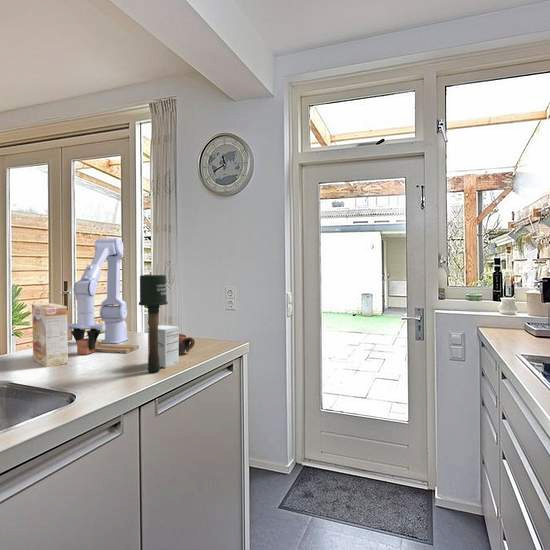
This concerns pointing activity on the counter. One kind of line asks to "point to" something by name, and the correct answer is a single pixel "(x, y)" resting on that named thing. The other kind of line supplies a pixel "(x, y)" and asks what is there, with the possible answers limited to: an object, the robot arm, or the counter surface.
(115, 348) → the board
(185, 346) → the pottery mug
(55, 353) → the coffeecake box
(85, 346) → the brown block with stick
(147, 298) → the stick grenade
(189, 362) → the counter surface
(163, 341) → the supplement box
